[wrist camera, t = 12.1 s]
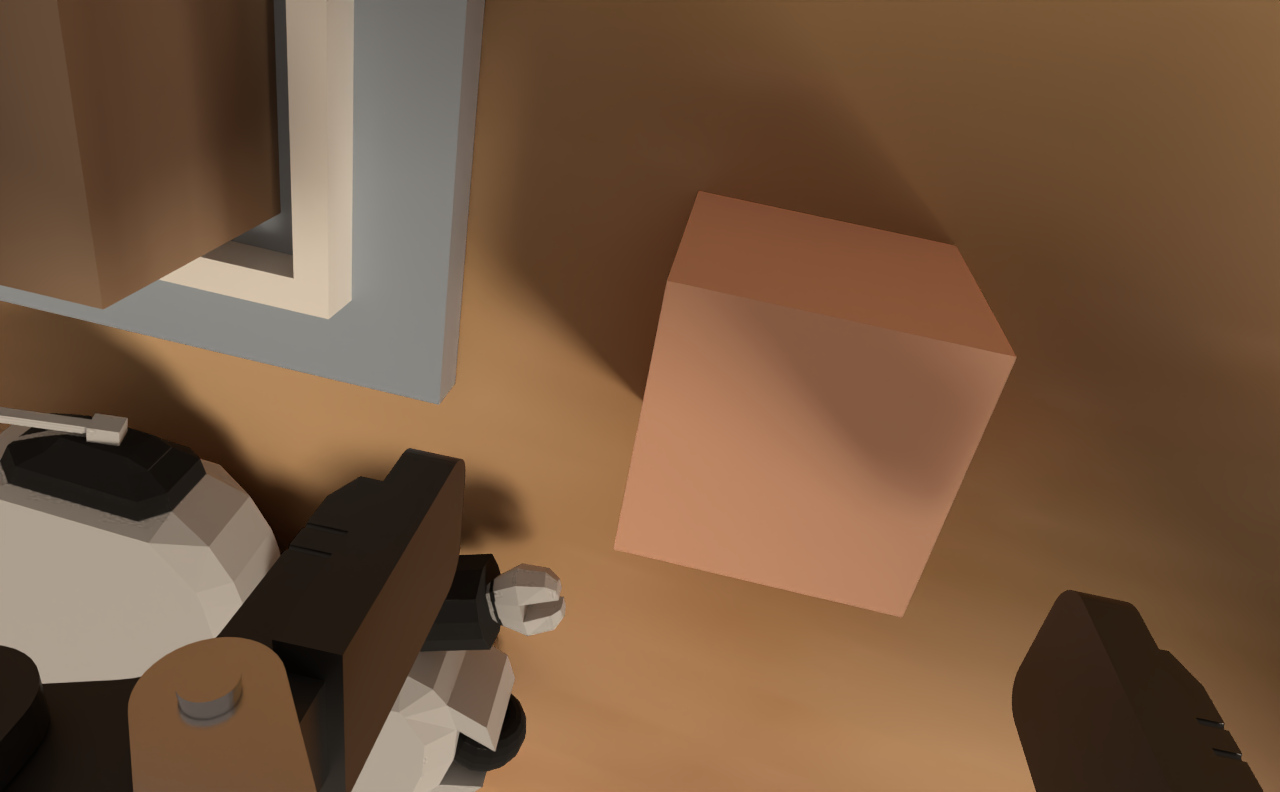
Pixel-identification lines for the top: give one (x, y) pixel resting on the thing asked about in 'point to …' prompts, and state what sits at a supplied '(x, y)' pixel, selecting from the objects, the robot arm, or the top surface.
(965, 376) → the terracotta cube
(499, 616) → the robot toy
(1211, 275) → the top surface
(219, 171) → the walnut cube
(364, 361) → the baseplate
